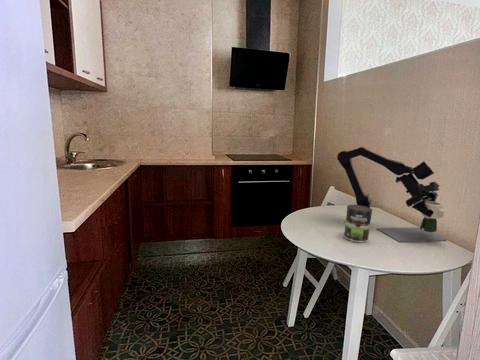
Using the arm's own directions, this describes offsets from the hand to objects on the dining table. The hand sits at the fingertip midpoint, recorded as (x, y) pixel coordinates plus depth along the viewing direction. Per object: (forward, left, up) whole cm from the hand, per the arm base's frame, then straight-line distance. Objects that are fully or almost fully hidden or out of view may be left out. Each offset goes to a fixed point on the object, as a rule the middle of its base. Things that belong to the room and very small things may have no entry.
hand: (434, 215), depth 127 cm
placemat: (-3, +9, -12) cm, 15 cm away
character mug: (-1, +1, -8) cm, 8 cm away
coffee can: (-32, +7, -12) cm, 35 cm away
